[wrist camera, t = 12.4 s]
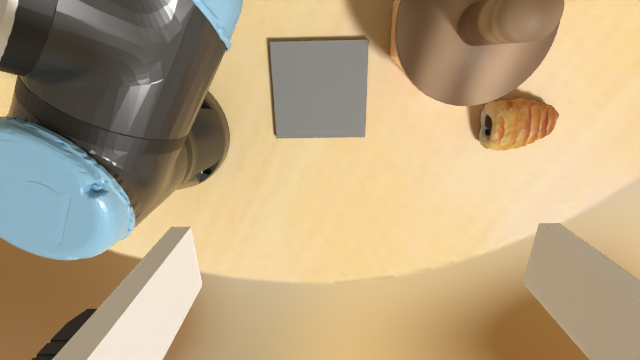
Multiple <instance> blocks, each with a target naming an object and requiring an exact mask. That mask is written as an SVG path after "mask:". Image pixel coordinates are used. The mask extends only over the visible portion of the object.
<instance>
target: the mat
mask: <svg viewBox="0 0 640 360" xmlns="http://www.w3.org/2000/svg"><path fill="white" fill-rule="evenodd" d="M368 41H369V40H327V41H280V42H270V54H271V68H272V82H273V96H274V109H275V123H276V137H277V138H329V137H365V126H366V98H367V69H368Z"/></svg>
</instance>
